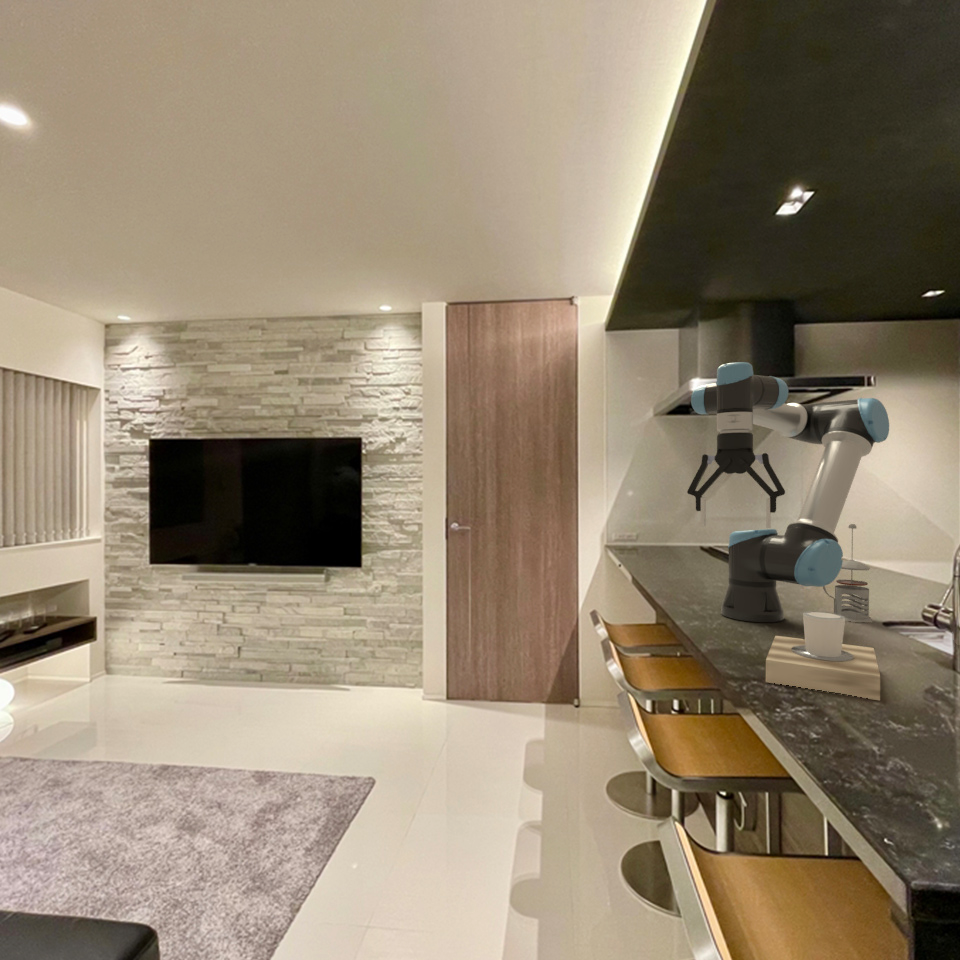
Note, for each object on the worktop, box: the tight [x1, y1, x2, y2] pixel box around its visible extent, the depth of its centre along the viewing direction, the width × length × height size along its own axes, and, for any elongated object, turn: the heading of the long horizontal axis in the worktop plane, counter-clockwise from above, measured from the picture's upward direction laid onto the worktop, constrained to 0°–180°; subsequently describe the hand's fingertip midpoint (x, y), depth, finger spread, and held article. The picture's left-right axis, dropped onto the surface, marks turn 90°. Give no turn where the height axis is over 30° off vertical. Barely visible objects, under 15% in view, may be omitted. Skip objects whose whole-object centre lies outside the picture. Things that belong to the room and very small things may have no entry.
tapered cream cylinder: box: [802, 610, 846, 657], centre depth 112 cm, size 7×7×7 cm
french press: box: [822, 523, 874, 623], centre depth 161 cm, size 10×12×25 cm
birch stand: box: [765, 635, 881, 701], centre depth 112 cm, size 20×17×4 cm
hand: (735, 526), depth 137 cm, fingers open, 13 cm apart
